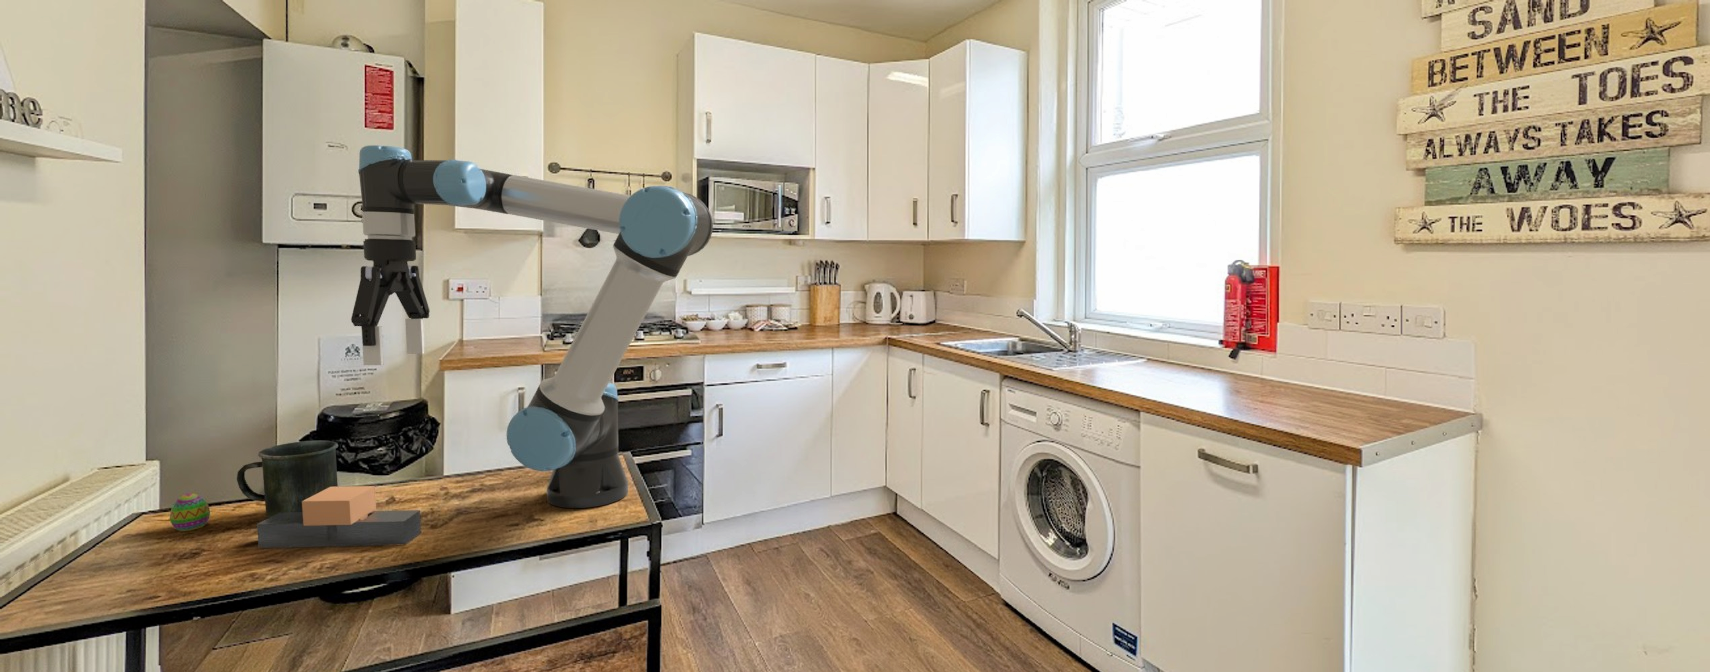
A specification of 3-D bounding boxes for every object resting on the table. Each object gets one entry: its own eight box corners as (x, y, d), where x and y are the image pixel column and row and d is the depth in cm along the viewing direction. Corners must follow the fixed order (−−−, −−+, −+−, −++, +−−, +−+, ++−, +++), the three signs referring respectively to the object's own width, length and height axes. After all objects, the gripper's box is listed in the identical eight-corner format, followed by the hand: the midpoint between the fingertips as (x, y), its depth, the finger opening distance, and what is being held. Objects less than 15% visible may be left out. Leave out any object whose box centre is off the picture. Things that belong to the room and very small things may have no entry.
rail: (421, 532, 117) (420, 510, 117) (405, 544, 112) (404, 521, 112) (280, 535, 115) (279, 512, 114) (258, 548, 110) (256, 524, 109)
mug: (333, 518, 123) (329, 453, 121) (228, 530, 116) (222, 461, 115) (348, 498, 132) (344, 438, 131) (252, 508, 126) (247, 444, 125)
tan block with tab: (304, 543, 109) (301, 501, 109) (332, 526, 116) (330, 486, 116) (352, 542, 110) (349, 500, 109) (377, 525, 117) (374, 486, 116)
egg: (217, 525, 118) (214, 491, 118) (181, 535, 114) (177, 500, 113) (201, 520, 120) (198, 487, 120) (164, 530, 116) (161, 496, 115)
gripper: (404, 239, 131) (410, 349, 133) (319, 235, 106) (327, 370, 109) (446, 240, 132) (451, 349, 134) (370, 236, 107) (378, 370, 110)
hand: (395, 359), depth 122 cm, fingers open, 13 cm apart
